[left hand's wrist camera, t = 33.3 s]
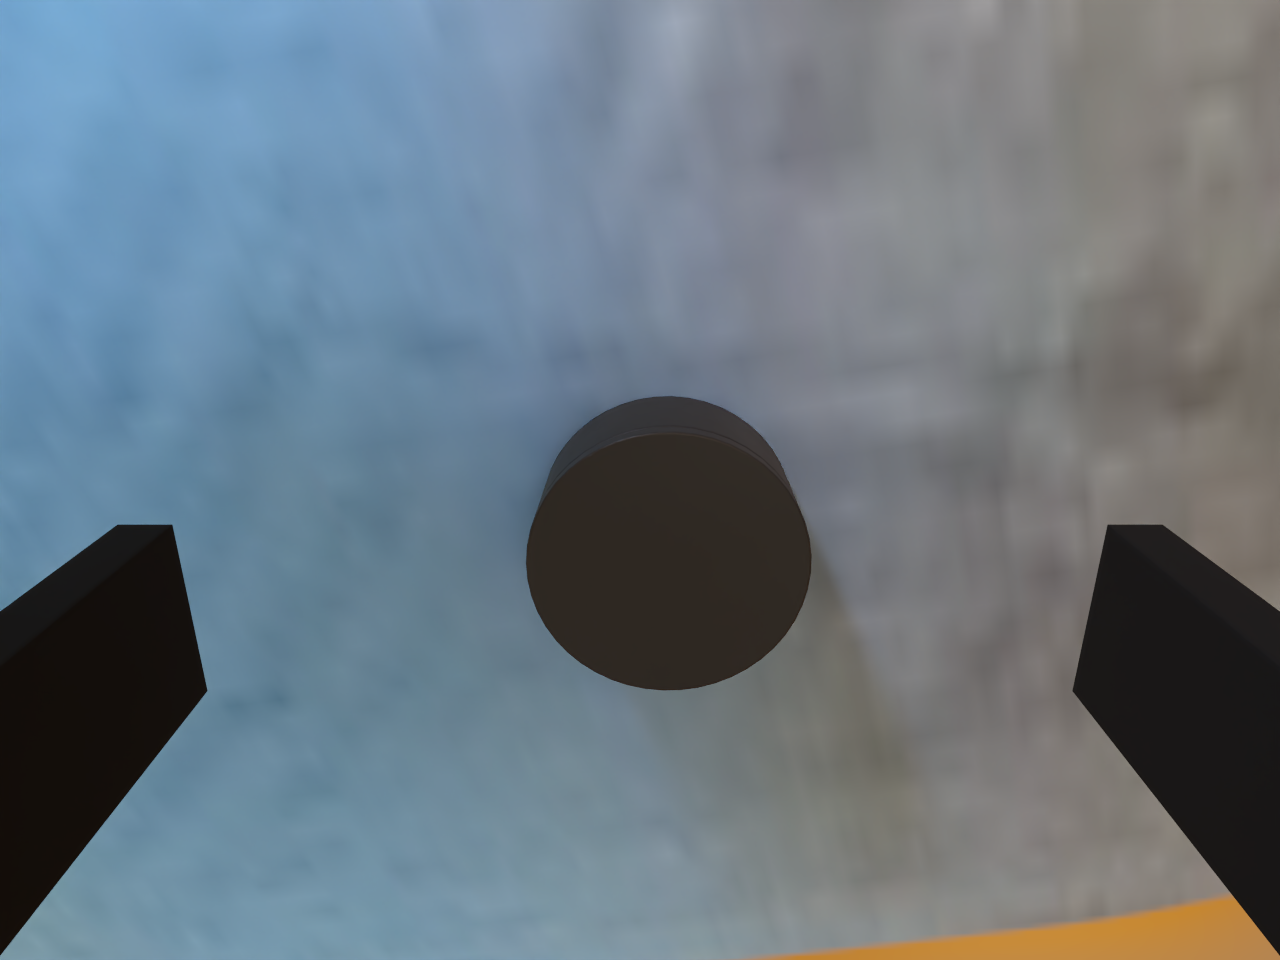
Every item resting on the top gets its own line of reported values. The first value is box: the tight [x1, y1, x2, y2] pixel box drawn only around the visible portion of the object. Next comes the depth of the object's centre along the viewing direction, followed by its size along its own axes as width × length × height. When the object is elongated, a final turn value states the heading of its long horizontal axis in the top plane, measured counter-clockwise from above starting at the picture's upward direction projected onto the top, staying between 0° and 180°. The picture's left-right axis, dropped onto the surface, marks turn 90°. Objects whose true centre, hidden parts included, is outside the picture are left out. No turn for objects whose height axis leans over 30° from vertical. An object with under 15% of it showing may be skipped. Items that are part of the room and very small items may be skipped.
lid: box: [526, 397, 811, 690], centre depth 17 cm, size 5×5×2 cm
